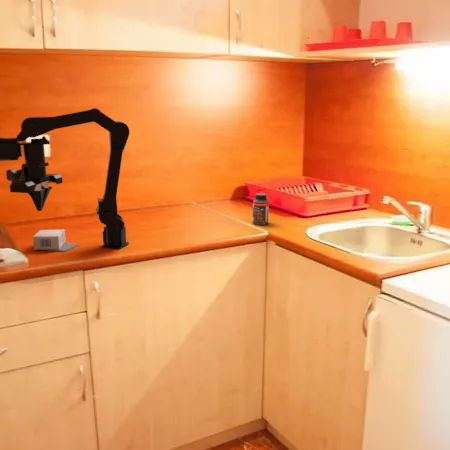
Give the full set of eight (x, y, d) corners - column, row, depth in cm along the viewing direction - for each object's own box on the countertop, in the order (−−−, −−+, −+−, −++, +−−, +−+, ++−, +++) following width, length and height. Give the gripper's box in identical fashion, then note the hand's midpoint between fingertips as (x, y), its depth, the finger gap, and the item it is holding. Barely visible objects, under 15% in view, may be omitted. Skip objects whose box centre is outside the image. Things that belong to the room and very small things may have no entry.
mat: (79, 245, 174) (79, 244, 174) (64, 252, 167) (64, 250, 167) (55, 242, 177) (55, 241, 177) (40, 249, 170) (39, 248, 170)
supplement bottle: (250, 224, 202) (251, 194, 199) (254, 221, 207) (255, 192, 205) (266, 225, 200) (266, 195, 197) (269, 222, 206) (270, 193, 203)
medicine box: (59, 249, 168) (66, 242, 176) (58, 235, 167) (65, 229, 175) (33, 250, 168) (41, 242, 176) (32, 236, 167) (40, 229, 175)
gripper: (30, 155, 172) (35, 203, 176) (-9, 162, 155) (-4, 216, 158) (61, 156, 169) (65, 205, 173) (24, 164, 152) (29, 218, 156)
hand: (39, 210), depth 165 cm, fingers closed
